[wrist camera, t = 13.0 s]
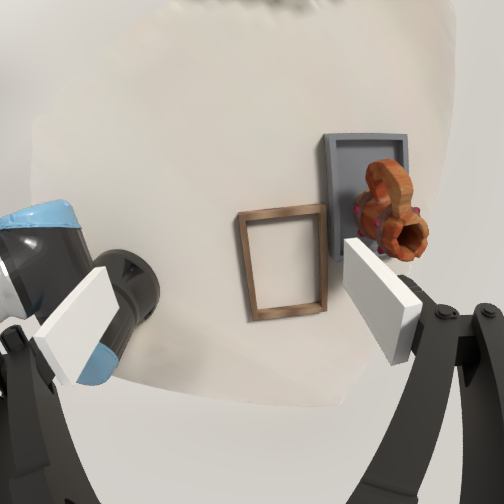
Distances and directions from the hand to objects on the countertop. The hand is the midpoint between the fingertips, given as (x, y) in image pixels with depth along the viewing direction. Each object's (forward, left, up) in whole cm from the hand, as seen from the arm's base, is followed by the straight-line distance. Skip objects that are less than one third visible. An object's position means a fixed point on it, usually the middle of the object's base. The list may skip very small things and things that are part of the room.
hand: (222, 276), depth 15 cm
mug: (+21, -4, -31) cm, 38 cm away
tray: (+21, -4, -32) cm, 39 cm away
